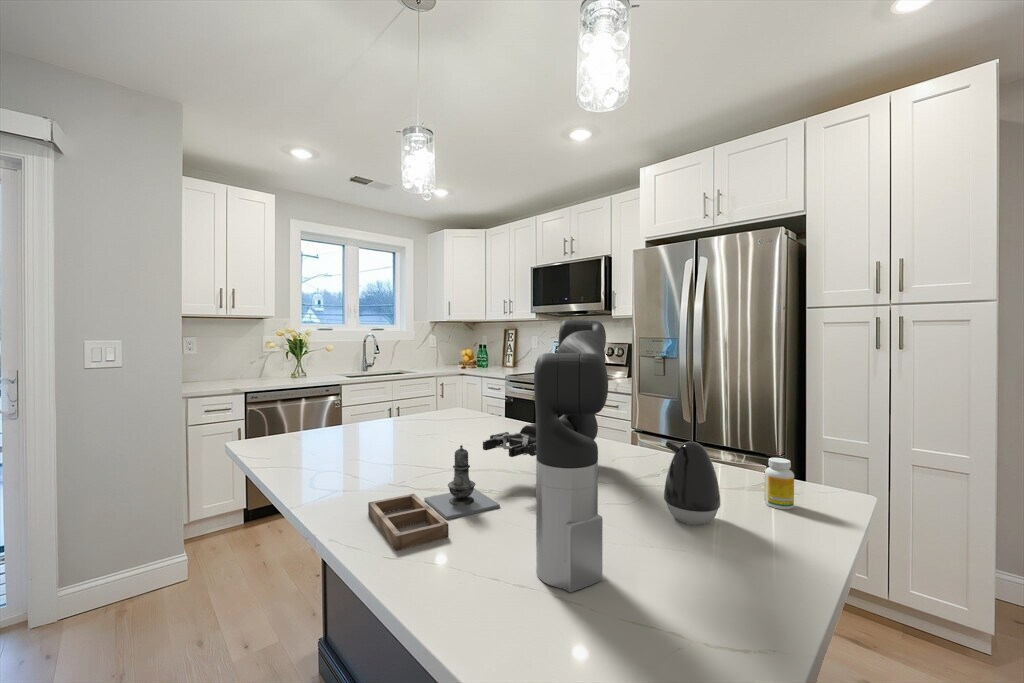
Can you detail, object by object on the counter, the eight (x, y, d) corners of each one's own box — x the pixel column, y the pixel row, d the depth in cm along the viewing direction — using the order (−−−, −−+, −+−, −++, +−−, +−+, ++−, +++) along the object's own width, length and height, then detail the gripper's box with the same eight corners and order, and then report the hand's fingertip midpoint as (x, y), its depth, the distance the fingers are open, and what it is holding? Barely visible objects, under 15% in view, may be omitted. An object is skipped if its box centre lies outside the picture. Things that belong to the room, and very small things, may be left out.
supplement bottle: (759, 500, 99) (759, 456, 99) (783, 500, 99) (783, 456, 99) (774, 510, 93) (774, 463, 93) (799, 510, 94) (800, 463, 93)
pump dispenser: (677, 505, 96) (677, 433, 96) (728, 519, 89) (729, 441, 88) (653, 519, 89) (653, 441, 89) (707, 536, 82) (707, 451, 81)
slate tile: (499, 507, 95) (499, 504, 95) (446, 519, 89) (446, 516, 89) (473, 490, 105) (473, 487, 105) (424, 500, 99) (424, 497, 99)
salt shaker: (471, 507, 94) (470, 448, 94) (443, 505, 95) (443, 447, 95) (478, 496, 100) (478, 442, 99) (452, 495, 101) (452, 440, 100)
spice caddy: (448, 537, 81) (448, 523, 81) (395, 550, 76) (395, 536, 76) (414, 504, 97) (413, 493, 97) (368, 514, 92) (368, 502, 92)
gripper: (520, 418, 121) (475, 428, 110) (564, 426, 112) (519, 437, 100) (520, 446, 122) (475, 459, 110) (564, 456, 112) (519, 471, 100)
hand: (496, 449), depth 105 cm, fingers open, 8 cm apart
